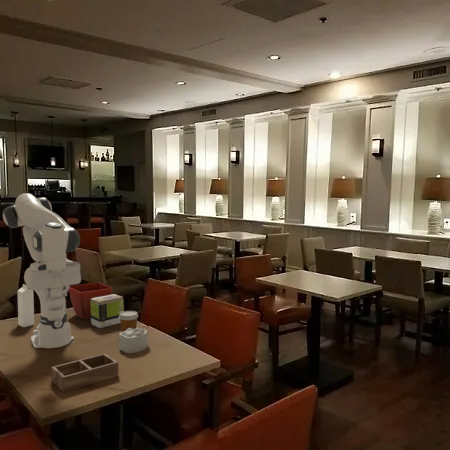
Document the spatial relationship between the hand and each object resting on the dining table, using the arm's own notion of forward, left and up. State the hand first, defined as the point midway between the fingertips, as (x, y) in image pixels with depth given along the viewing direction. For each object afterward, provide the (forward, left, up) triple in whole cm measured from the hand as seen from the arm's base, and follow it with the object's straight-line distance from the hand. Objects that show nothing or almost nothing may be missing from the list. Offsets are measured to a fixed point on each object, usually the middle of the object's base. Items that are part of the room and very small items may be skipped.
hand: (55, 297), depth 176 cm
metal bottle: (0, 0, -10) cm, 10 cm away
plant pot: (-64, +42, -31) cm, 82 cm away
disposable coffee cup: (-18, +42, -31) cm, 55 cm away
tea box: (-44, +43, -31) cm, 69 cm away
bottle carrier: (+14, +6, -31) cm, 34 cm away
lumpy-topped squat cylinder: (-3, +37, -31) cm, 48 cm away
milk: (-69, +8, -31) cm, 76 cm away
